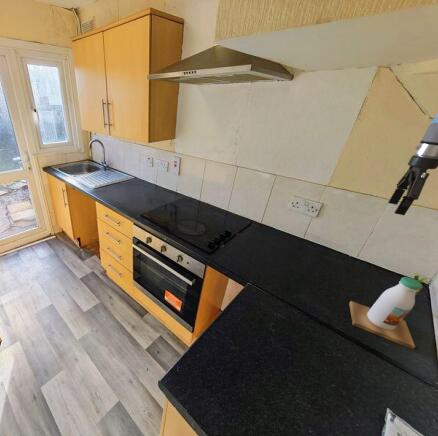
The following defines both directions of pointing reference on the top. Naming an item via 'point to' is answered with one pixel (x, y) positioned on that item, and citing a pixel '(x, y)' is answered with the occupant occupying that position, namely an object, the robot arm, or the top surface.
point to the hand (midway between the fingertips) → (395, 208)
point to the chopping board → (395, 335)
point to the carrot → (419, 281)
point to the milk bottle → (394, 304)
